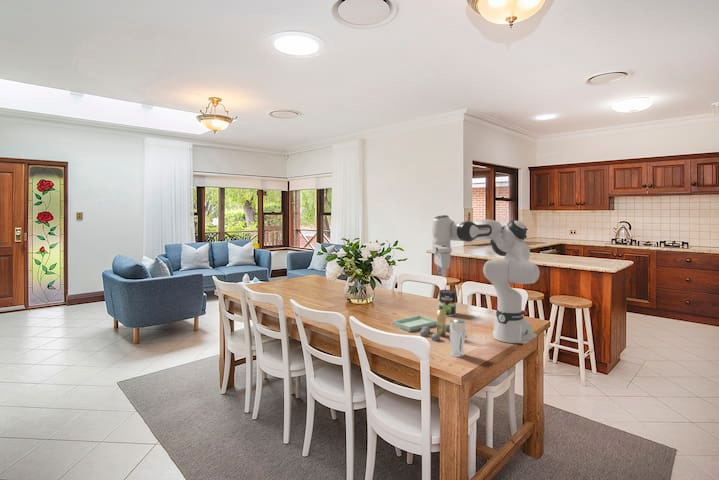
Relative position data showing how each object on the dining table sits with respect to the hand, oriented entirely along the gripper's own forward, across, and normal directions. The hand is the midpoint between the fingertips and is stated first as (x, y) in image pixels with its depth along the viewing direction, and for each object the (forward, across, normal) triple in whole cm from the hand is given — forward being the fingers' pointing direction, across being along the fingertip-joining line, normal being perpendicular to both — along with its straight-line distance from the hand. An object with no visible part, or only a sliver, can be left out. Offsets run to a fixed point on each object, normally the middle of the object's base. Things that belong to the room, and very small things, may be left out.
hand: (441, 275), depth 191 cm
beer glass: (+32, +25, +1) cm, 41 cm away
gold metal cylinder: (+31, 0, 0) cm, 31 cm away
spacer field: (+31, 0, 0) cm, 31 cm away
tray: (+30, -17, -11) cm, 36 cm away
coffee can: (+30, -40, +12) cm, 51 cm away
